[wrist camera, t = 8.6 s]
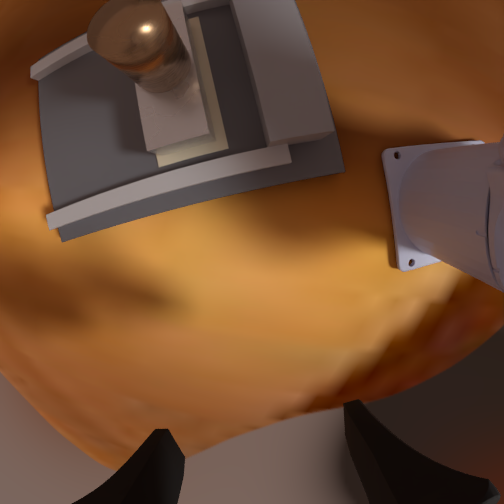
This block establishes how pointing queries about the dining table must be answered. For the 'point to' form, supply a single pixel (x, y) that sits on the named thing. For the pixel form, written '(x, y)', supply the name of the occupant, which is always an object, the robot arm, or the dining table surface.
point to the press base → (221, 110)
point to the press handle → (157, 69)
